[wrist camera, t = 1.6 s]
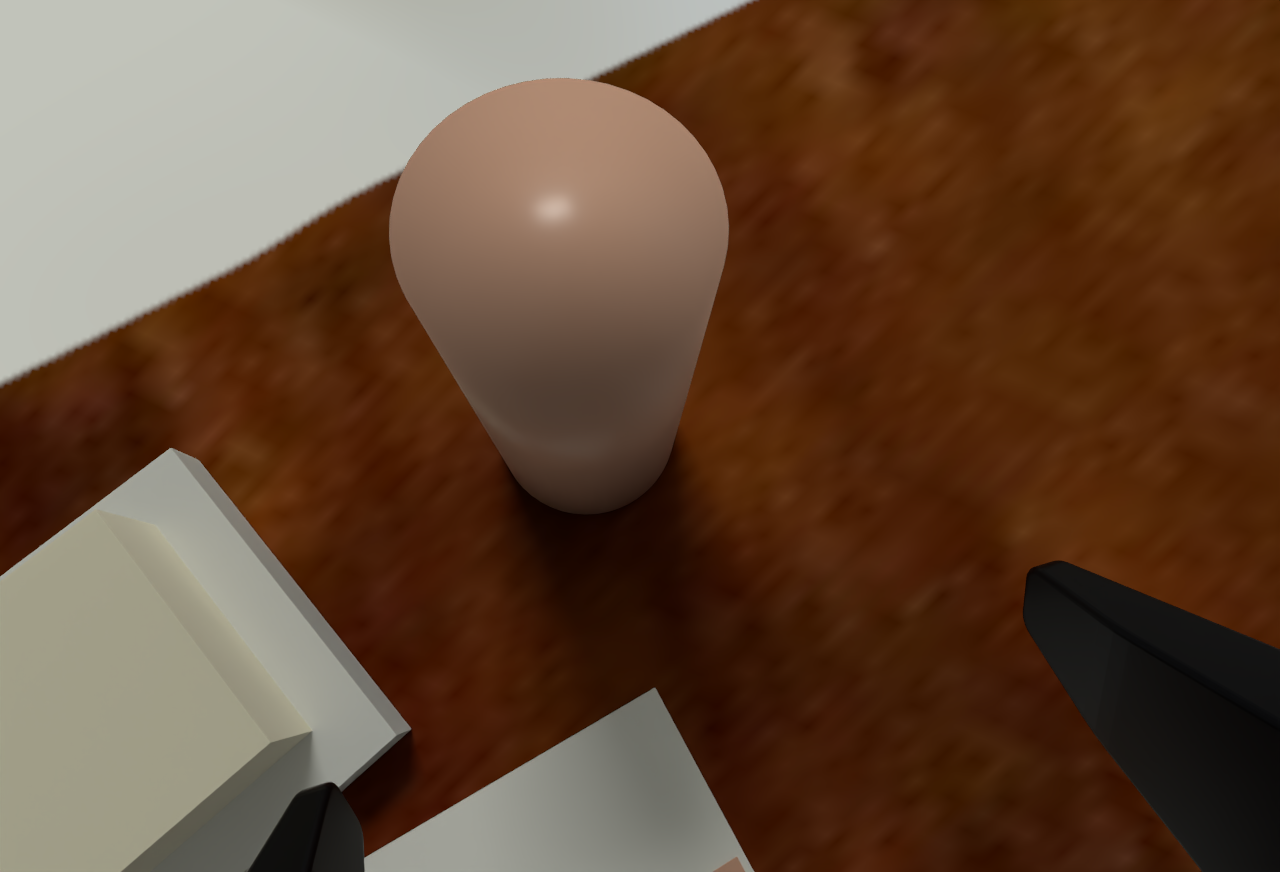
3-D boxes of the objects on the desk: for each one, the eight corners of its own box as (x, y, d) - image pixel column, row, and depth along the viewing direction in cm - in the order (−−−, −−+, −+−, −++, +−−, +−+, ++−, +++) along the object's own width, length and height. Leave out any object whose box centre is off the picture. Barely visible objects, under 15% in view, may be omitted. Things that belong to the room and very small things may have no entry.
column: (647, 536, 23) (678, 424, 11) (476, 486, 23) (337, 328, 12) (693, 373, 24) (763, 125, 13) (531, 327, 25) (455, 43, 13)
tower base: (411, 729, 22) (366, 747, 18) (88, 1018, 20) (-42, 1109, 16) (198, 459, 23) (115, 422, 19) (-118, 702, 21) (-281, 714, 17)
